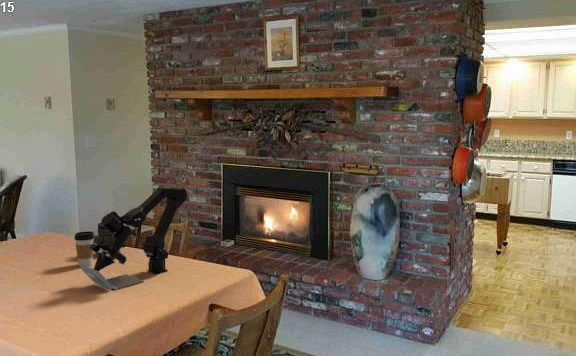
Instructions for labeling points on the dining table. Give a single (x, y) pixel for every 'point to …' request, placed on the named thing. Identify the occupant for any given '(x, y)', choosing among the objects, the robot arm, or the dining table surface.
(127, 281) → the plate
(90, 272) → the grey rectangular slab
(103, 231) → the storage jar
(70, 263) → the dining table surface
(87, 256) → the coffee cup
